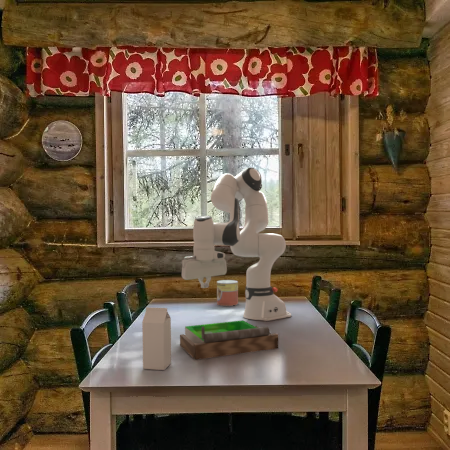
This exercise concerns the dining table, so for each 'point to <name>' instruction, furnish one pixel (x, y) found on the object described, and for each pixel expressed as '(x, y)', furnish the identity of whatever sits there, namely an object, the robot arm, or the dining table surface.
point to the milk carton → (156, 339)
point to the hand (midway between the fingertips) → (204, 287)
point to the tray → (214, 329)
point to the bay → (230, 342)
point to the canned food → (227, 292)
